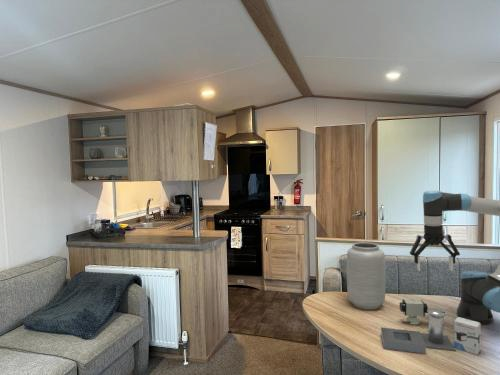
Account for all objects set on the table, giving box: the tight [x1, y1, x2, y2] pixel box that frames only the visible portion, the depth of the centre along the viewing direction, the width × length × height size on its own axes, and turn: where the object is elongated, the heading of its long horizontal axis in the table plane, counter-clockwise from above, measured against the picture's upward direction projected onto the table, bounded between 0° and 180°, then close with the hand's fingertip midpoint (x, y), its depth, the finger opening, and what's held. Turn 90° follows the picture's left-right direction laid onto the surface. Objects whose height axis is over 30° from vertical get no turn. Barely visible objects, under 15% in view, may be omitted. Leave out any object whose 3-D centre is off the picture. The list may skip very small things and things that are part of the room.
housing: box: [380, 327, 427, 355], centre depth 142 cm, size 16×12×4 cm
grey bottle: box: [426, 307, 446, 344], centre depth 143 cm, size 7×7×13 cm
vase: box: [346, 241, 386, 310], centre depth 184 cm, size 20×20×34 cm
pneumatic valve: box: [399, 298, 429, 326], centre depth 161 cm, size 6×12×12 cm, turn 78°
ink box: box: [453, 316, 482, 355], centre depth 137 cm, size 8×5×12 cm, turn 44°
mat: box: [420, 332, 456, 352], centre depth 143 cm, size 12×12×1 cm
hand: (434, 270), depth 152 cm, fingers open, 13 cm apart
